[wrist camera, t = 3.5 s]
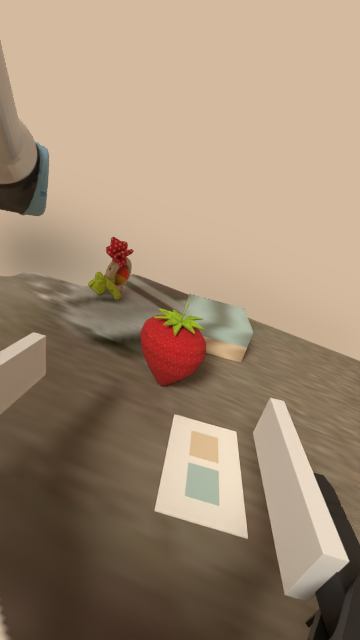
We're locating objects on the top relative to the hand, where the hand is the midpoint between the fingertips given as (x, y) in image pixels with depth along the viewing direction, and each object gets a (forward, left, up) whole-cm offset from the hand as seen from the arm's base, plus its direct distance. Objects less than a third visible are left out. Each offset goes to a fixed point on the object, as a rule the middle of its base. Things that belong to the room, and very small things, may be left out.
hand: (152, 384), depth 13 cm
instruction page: (+5, +2, -8) cm, 10 cm away
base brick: (+5, +24, -8) cm, 26 cm away
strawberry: (0, +10, -8) cm, 13 cm away
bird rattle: (-15, +32, -8) cm, 36 cm away
